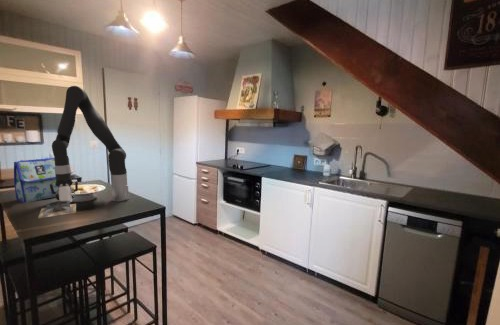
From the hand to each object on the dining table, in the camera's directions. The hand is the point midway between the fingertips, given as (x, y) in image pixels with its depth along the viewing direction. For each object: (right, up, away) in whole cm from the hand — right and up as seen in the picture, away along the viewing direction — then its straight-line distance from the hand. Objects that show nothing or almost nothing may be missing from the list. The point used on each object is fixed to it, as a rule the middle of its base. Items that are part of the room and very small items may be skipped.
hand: (65, 199), depth 156 cm
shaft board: (+7, -6, -15) cm, 17 cm away
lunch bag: (-24, -1, +12) cm, 27 cm away
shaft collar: (+7, -4, -15) cm, 17 cm away
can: (0, -3, +1) cm, 3 cm away
